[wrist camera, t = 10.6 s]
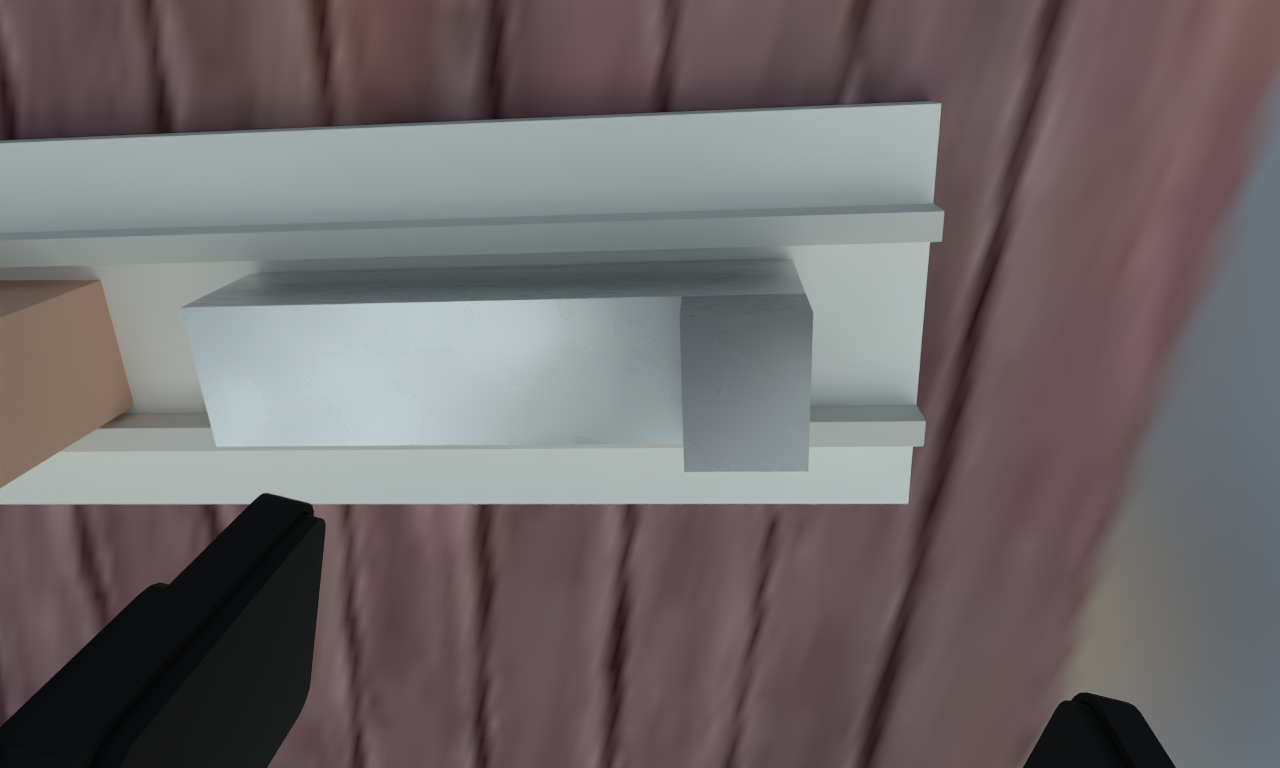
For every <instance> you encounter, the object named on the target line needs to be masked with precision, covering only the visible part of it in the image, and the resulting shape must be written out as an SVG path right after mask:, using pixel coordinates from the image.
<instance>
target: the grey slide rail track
mask: <svg viewBox="0 0 1280 768" xmlns="http://www.w3.org/2000/svg"><path fill="white" fill-rule="evenodd" d="M940 114H941V103H937V102H932V101H918V102H895V103H871V104H848V105H824V106H801V107H777V108H754V109H730V110H707V111H683V112H660V113H636V114H613V115H589V116H566V117H542V118H519V119H495V120H472V121H448V122H425V123H401V124H378V125H354V126H331V127H307V128H284V129H260V130H237V131H213V132H190V133H166V134H143V135H119V136H96V137H72V138H49V139H25V140H2V141H0V280H101V283H102V287H103V291H104V294H105V298H106V302H107V306H108V309H109V313H110V317H111V321H112V324H113V328H114V332H115V335H116V339H117V343H118V347H119V350H120V354H121V358H122V362H123V365H124V369H125V373H126V377H127V380H128V384H129V388H130V392H131V395H132V399H133V403H134V406H133V407H131V408H130V409H128V410H126V411H125V412H123V413H122V414H120V415H118V416H117V417H115V418H113V419H112V420H110V421H109V422H107V423H105V424H104V425H102V426H100V427H99V428H97V429H96V430H94V431H92V432H91V433H89V434H88V435H86V436H84V437H83V438H81V439H79V440H78V441H76V442H75V443H73V444H71V445H70V446H68V447H66V448H65V449H63V450H62V451H60V452H58V453H57V454H55V455H53V456H52V457H50V458H49V459H47V460H45V461H44V462H42V463H40V464H39V465H37V466H36V467H34V468H32V469H31V470H29V471H27V472H26V473H24V474H23V475H21V476H19V477H18V478H16V479H14V480H13V481H11V482H10V483H8V484H6V485H5V486H3V487H2V488H0V504H251V503H252V502H253V501H254V500H255V499H256V498H257V497H258V496H260V495H261V494H262V493H270V494H274V495H278V496H282V497H286V498H290V499H295V500H299V501H303V502H307V503H310V504H908V499H909V487H910V475H911V463H912V451H913V446H924V437H925V425H926V421H925V419H924V417H923V415H922V414H921V412H920V410H919V409H918V407H917V405H916V403H917V391H918V379H919V367H920V355H921V342H922V330H923V318H924V306H925V294H926V282H927V270H928V258H929V246H930V242H942V233H943V222H944V211H943V210H942V209H940V208H939V207H938V206H936V205H935V204H933V198H934V186H935V174H936V162H937V150H938V138H939V126H940ZM776 259H792V260H793V262H794V265H795V267H796V270H797V272H798V275H799V278H800V280H801V283H802V285H803V288H804V290H805V293H806V295H807V298H808V300H809V303H810V306H811V308H812V311H813V338H812V369H811V400H810V431H809V462H808V471H799V472H684V450H683V443H681V444H536V445H390V446H245V447H216V444H215V440H214V436H213V433H212V429H211V425H210V421H209V417H208V413H207V409H206V405H205V402H204V398H203V394H202V390H201V386H200V382H199V378H198V374H197V371H196V367H195V363H194V359H193V355H192V351H191V347H190V343H189V340H188V336H187V332H186V328H185V324H184V320H183V316H182V312H181V309H180V308H181V307H183V306H185V305H187V304H189V303H191V302H193V301H195V300H197V299H199V298H201V297H203V296H205V295H207V294H210V293H212V292H214V291H216V290H218V289H220V288H222V287H224V286H226V285H228V284H230V283H232V282H234V281H236V280H238V279H240V278H243V277H245V276H247V275H249V274H251V273H283V272H321V271H359V270H397V269H435V268H473V267H511V266H549V265H586V264H624V263H662V262H700V261H738V260H776Z"/></svg>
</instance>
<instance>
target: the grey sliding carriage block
mask: <svg viewBox="0 0 1280 768" xmlns="http://www.w3.org/2000/svg"><path fill="white" fill-rule="evenodd" d="M180 309H181V312H182V316H183V320H184V324H185V328H186V332H187V336H188V340H189V343H190V347H191V351H192V355H193V359H194V363H195V367H196V371H197V374H198V378H199V382H200V386H201V390H202V394H203V398H204V402H205V405H206V409H207V413H208V417H209V421H210V425H211V429H212V433H213V436H214V440H215V444H216V447H245V446H390V445H536V444H681V443H683V450H684V472H799V471H808V462H809V431H810V400H811V369H812V338H813V311H812V308H811V306H810V303H809V300H808V298H807V295H806V293H805V290H804V288H803V285H802V283H801V280H800V278H799V275H798V272H797V270H796V267H795V265H794V262H793V260H792V259H776V260H738V261H700V262H662V263H624V264H586V265H549V266H511V267H473V268H435V269H397V270H359V271H321V272H283V273H251V274H249V275H247V276H245V277H243V278H240V279H238V280H236V281H234V282H232V283H230V284H228V285H226V286H224V287H222V288H220V289H218V290H216V291H214V292H212V293H210V294H207V295H205V296H203V297H201V298H199V299H197V300H195V301H193V302H191V303H189V304H187V305H185V306H183V307H181V308H180Z"/></svg>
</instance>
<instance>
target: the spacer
mask: <svg viewBox="0 0 1280 768" xmlns="http://www.w3.org/2000/svg"><path fill="white" fill-rule="evenodd" d="M133 406H134V403H133V399H132V395H131V392H130V388H129V384H128V380H127V377H126V373H125V369H124V365H123V362H122V358H121V354H120V350H119V347H118V343H117V339H116V335H115V332H114V328H113V324H112V321H111V317H110V313H109V309H108V306H107V302H106V298H105V294H104V291H103V287H102V283H101V280H0V488H2V487H3V486H5V485H6V484H8V483H10V482H11V481H13V480H14V479H16V478H18V477H19V476H21V475H23V474H24V473H26V472H27V471H29V470H31V469H32V468H34V467H36V466H37V465H39V464H40V463H42V462H44V461H45V460H47V459H49V458H50V457H52V456H53V455H55V454H57V453H58V452H60V451H62V450H63V449H65V448H66V447H68V446H70V445H71V444H73V443H75V442H76V441H78V440H79V439H81V438H83V437H84V436H86V435H88V434H89V433H91V432H92V431H94V430H96V429H97V428H99V427H100V426H102V425H104V424H105V423H107V422H109V421H110V420H112V419H113V418H115V417H117V416H118V415H120V414H122V413H123V412H125V411H126V410H128V409H130V408H131V407H133Z"/></svg>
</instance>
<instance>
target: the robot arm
mask: <svg viewBox="0 0 1280 768" xmlns="http://www.w3.org/2000/svg"><path fill="white" fill-rule="evenodd" d="M324 539H325V521H324V520H323V519H322V518H317V517H314V511H313V507H312V505H311V504H310V503H307V502H303V501H299V500H295V499H290V498H286V497H282V496H278V495H274V494H270V493H262V494H261V495H260V496H258V497H257V498H256V499H255V500H254V501H253V502H252V503H251V504H250V505H249V506H248V507H247V508H246V509H245V510H244V511H243V512H242V513H241V514H240V515H239V516H238V517H237V518H236V519H235V520H234V521H233V522H232V523H231V524H230V525H229V526H228V527H227V528H226V529H225V530H224V531H223V532H222V533H221V534H220V535H219V536H218V537H217V538H216V539H215V540H214V541H213V542H212V543H211V544H210V545H209V546H208V547H207V548H206V549H205V550H204V551H203V552H202V553H201V554H200V555H199V556H198V557H197V558H196V559H195V560H194V561H193V562H192V563H191V564H190V565H188V566H187V567H186V568H185V569H184V570H183V571H182V572H181V573H180V574H179V575H178V576H177V577H176V578H175V579H174V580H173V581H172V582H171V583H170V584H169V585H168V584H164V583H157V584H154V585H151V586H149V587H148V588H147V589H145V590H144V591H143V592H141V593H140V594H139V595H138V596H137V597H136V598H135V599H134V600H133V601H132V602H131V603H130V604H129V605H127V606H126V607H125V608H124V609H123V610H122V611H121V612H120V613H119V614H118V615H117V616H116V617H115V618H114V619H113V620H112V621H111V622H110V623H109V624H108V625H107V626H106V627H104V628H103V629H102V630H101V631H100V632H99V633H98V634H97V635H96V636H95V637H94V638H93V639H92V640H91V641H90V642H89V643H88V644H87V645H86V646H85V647H84V648H83V649H82V650H80V651H79V652H78V653H77V654H76V655H75V656H74V657H73V658H72V659H71V660H70V661H69V662H68V663H67V664H66V665H65V666H64V667H63V668H62V669H61V670H60V671H59V672H57V673H56V674H55V675H54V676H53V677H52V678H51V679H50V680H49V681H48V682H47V683H46V684H45V685H44V686H43V687H42V688H41V689H40V690H39V691H38V692H37V693H36V694H35V695H33V696H32V697H31V698H30V699H29V700H28V701H27V702H26V703H25V704H24V705H23V706H22V707H21V708H20V709H19V710H18V711H17V712H16V713H15V714H14V715H13V716H12V717H10V718H9V719H8V720H7V721H6V722H5V723H4V724H3V725H2V726H1V727H0V768H267V767H268V765H269V763H270V762H271V760H272V759H273V757H274V755H275V754H276V752H277V750H278V749H279V747H280V746H281V744H282V742H283V741H284V739H285V737H286V736H287V734H288V733H289V731H290V729H291V728H292V726H293V724H294V723H295V721H296V720H297V718H298V716H299V714H300V713H301V711H302V708H303V706H304V704H305V701H306V698H307V695H308V692H309V687H310V681H311V670H312V660H313V650H314V640H315V630H316V620H317V610H318V600H319V590H320V580H321V570H322V559H323V549H324ZM1023 768H1176V767H1175V766H1174V764H1173V763H1172V761H1171V760H1170V758H1169V756H1168V755H1167V753H1166V752H1165V750H1164V749H1163V747H1162V745H1161V744H1160V742H1159V741H1158V739H1157V738H1156V736H1155V734H1154V733H1153V731H1152V730H1151V728H1150V727H1149V725H1148V724H1147V722H1146V721H1145V719H1144V717H1143V716H1142V714H1141V713H1140V712H1139V710H1138V709H1137V708H1136V707H1135V706H1134V705H1132V704H1130V703H1127V702H1123V701H1119V700H1115V699H1111V698H1107V697H1103V696H1099V695H1095V694H1091V693H1079V694H1077V695H1076V696H1074V698H1073V699H1072V700H1071V701H1063V702H1061V703H1060V704H1059V705H1058V707H1057V708H1056V710H1055V712H1054V713H1053V715H1052V717H1051V719H1050V720H1049V722H1048V724H1047V726H1046V728H1045V729H1044V731H1043V733H1042V735H1041V737H1040V738H1039V740H1038V742H1037V744H1036V746H1035V747H1034V749H1033V751H1032V753H1031V754H1030V756H1029V758H1028V760H1027V762H1026V763H1025V765H1024V767H1023Z"/></svg>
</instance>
